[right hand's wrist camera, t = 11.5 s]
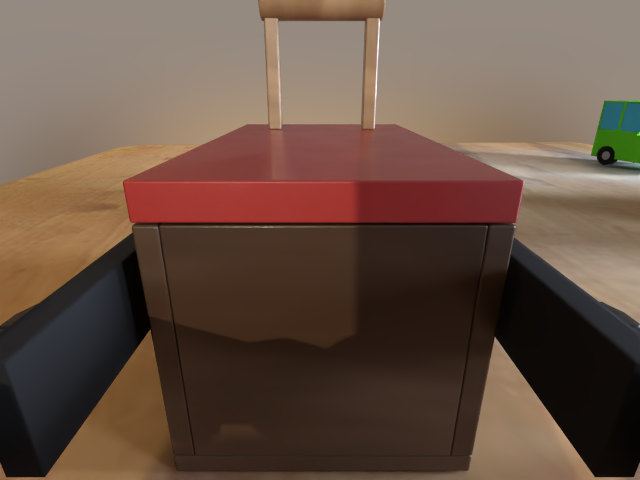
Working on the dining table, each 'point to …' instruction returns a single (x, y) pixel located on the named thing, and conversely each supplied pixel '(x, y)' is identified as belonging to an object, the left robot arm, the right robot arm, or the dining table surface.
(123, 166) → the dining table surface
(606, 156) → the toy car
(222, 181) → the lid
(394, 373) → the chest
